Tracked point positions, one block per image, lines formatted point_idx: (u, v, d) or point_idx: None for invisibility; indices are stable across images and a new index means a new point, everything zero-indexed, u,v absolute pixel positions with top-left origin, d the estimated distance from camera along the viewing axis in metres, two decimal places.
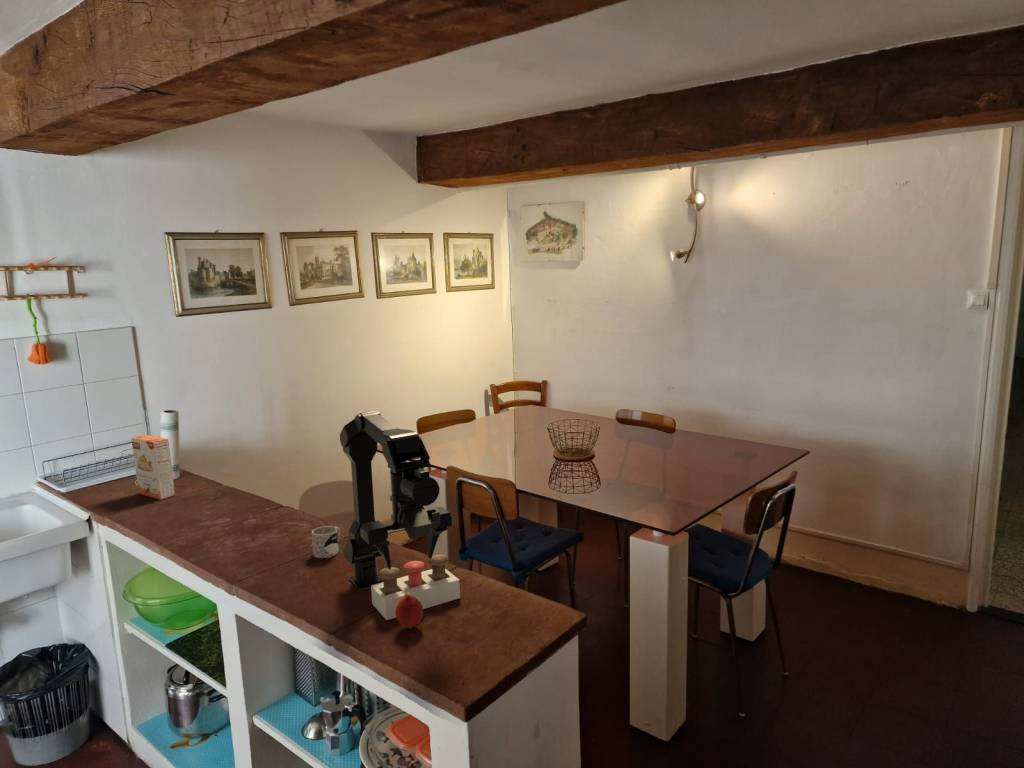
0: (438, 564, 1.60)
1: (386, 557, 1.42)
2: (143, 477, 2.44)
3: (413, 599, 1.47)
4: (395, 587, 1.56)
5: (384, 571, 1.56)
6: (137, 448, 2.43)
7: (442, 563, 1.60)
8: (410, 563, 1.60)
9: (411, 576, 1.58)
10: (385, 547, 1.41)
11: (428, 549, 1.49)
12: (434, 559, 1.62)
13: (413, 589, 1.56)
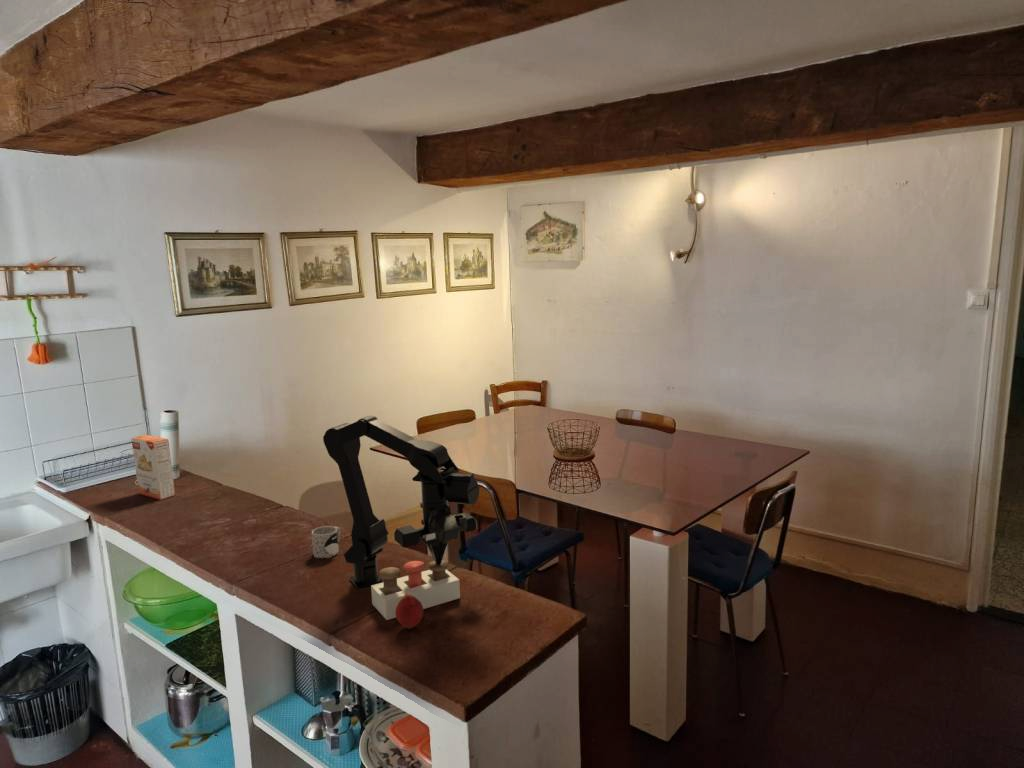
0: (438, 569, 1.60)
1: (435, 554, 1.60)
2: (143, 477, 2.44)
3: (413, 599, 1.47)
4: (395, 587, 1.56)
5: (384, 571, 1.56)
6: (137, 448, 2.43)
7: (442, 568, 1.60)
8: (410, 563, 1.60)
9: (411, 576, 1.58)
10: (435, 545, 1.59)
11: None
12: (435, 564, 1.62)
13: (413, 589, 1.56)
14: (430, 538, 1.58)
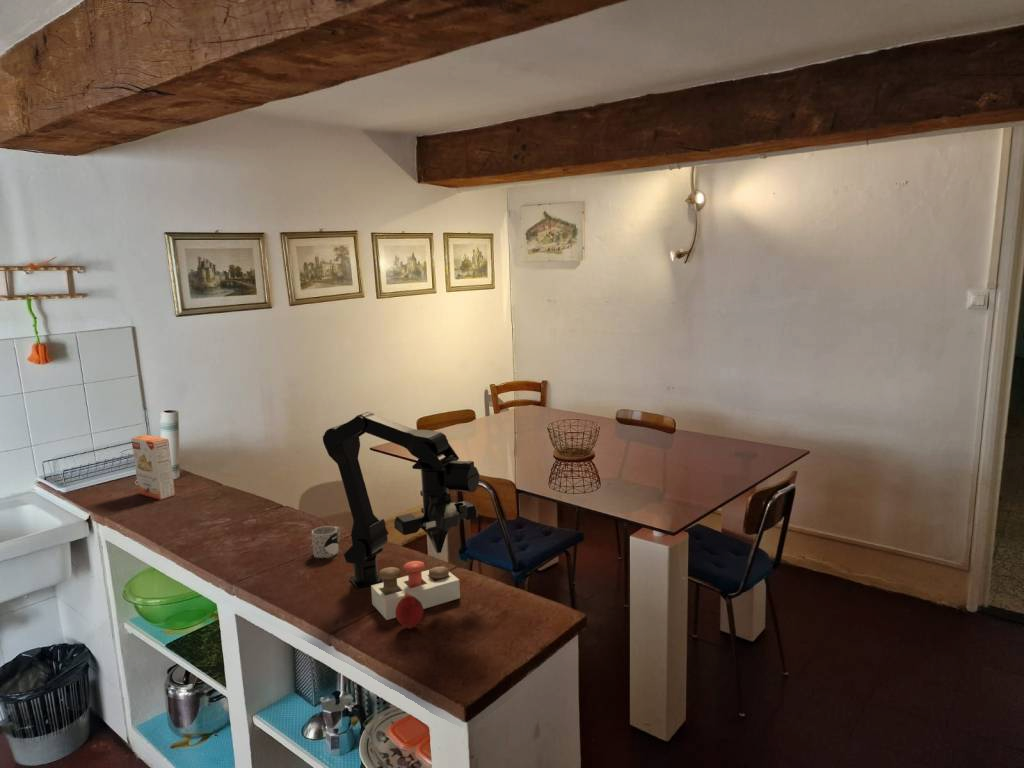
0: (439, 576, 1.60)
1: (436, 542, 1.60)
2: (143, 477, 2.44)
3: (413, 599, 1.47)
4: (395, 587, 1.56)
5: (384, 571, 1.56)
6: (137, 448, 2.43)
7: (443, 575, 1.61)
8: (410, 563, 1.60)
9: (411, 576, 1.58)
10: (435, 533, 1.58)
11: None
12: (435, 571, 1.62)
13: (413, 589, 1.56)
14: (430, 526, 1.57)
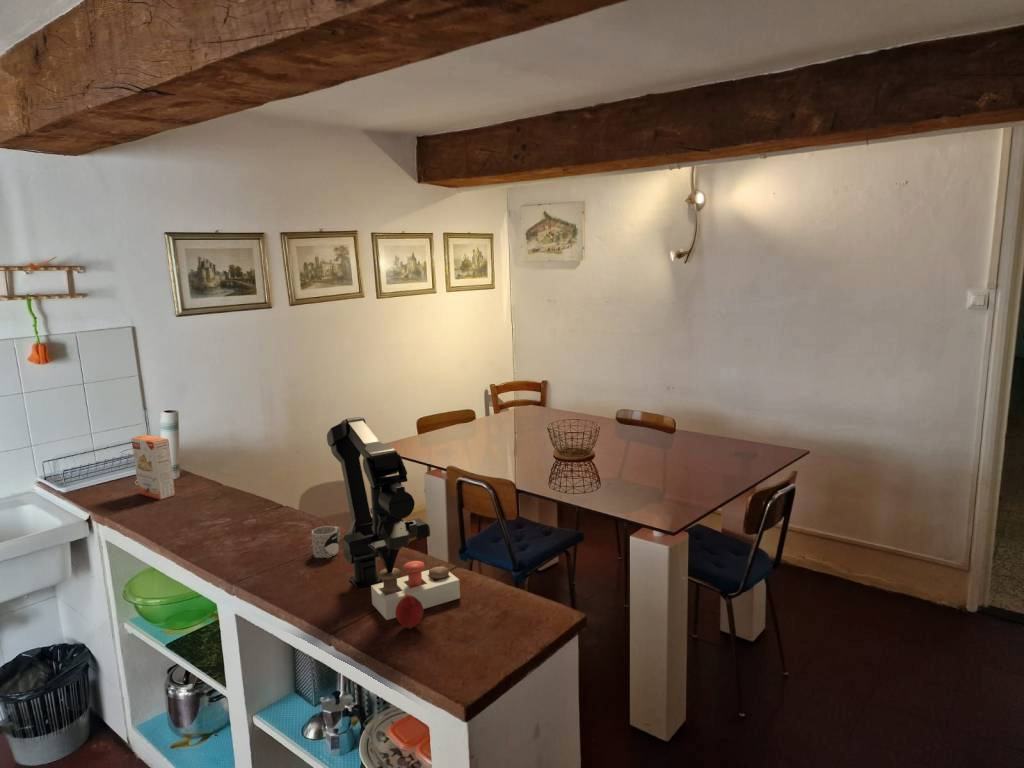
0: (439, 576, 1.60)
1: (386, 561, 1.54)
2: (143, 477, 2.44)
3: (413, 599, 1.47)
4: (395, 588, 1.56)
5: (384, 572, 1.56)
6: (137, 448, 2.43)
7: (443, 575, 1.61)
8: (410, 563, 1.60)
9: (411, 576, 1.58)
10: (385, 552, 1.53)
11: None
12: (435, 571, 1.62)
13: (413, 589, 1.56)
14: (379, 545, 1.52)
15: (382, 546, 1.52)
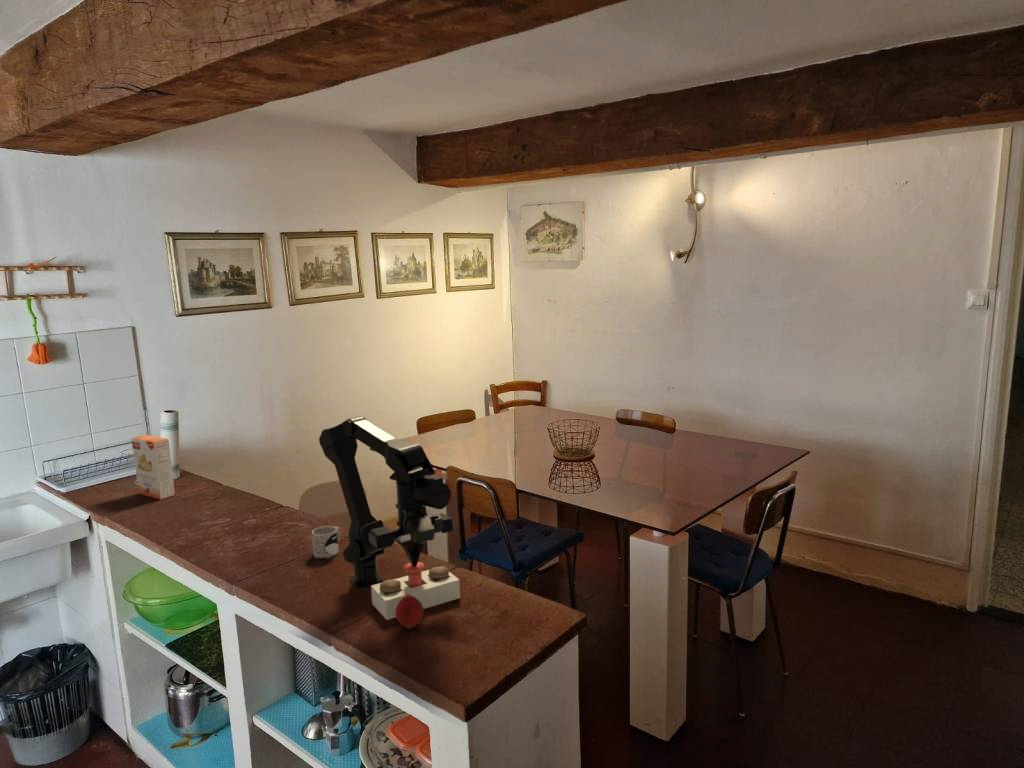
0: (439, 576, 1.60)
1: (411, 555, 1.57)
2: (143, 477, 2.44)
3: (413, 599, 1.47)
4: None
5: (385, 584, 1.56)
6: (137, 448, 2.43)
7: (443, 575, 1.61)
8: (410, 564, 1.60)
9: (411, 577, 1.58)
10: (410, 546, 1.56)
11: None
12: (435, 571, 1.62)
13: (413, 589, 1.56)
14: (405, 539, 1.55)
15: (407, 540, 1.55)
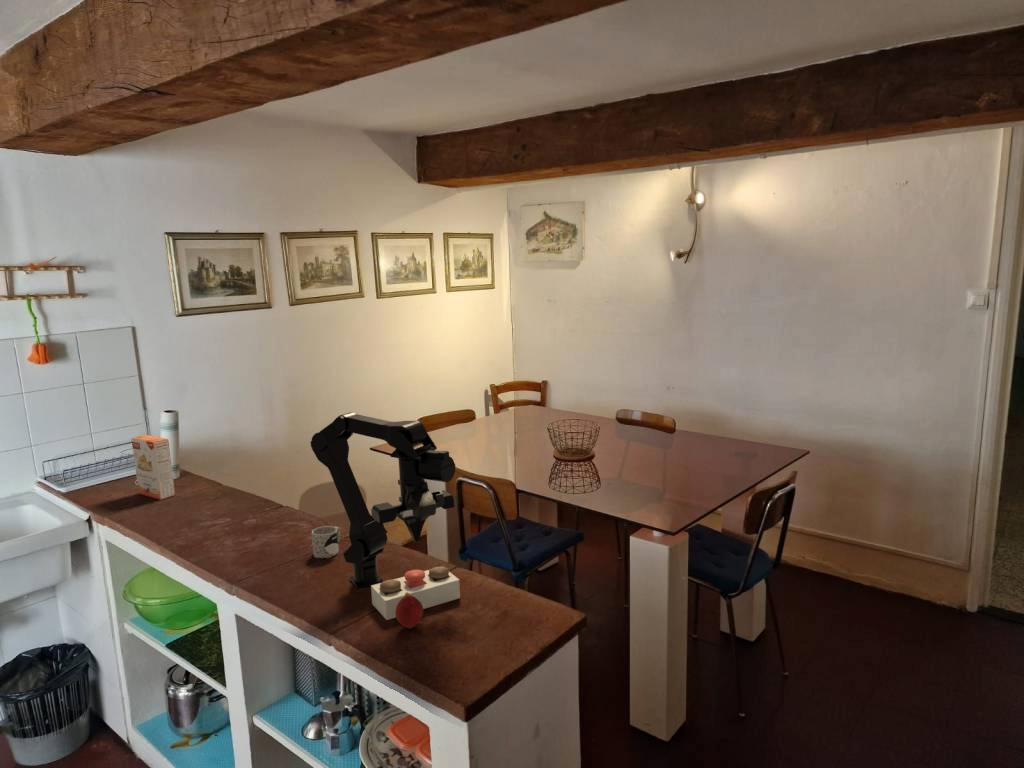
0: (439, 576, 1.60)
1: (413, 531, 1.60)
2: (143, 477, 2.44)
3: (413, 599, 1.47)
4: None
5: (385, 584, 1.56)
6: (137, 448, 2.43)
7: (443, 575, 1.61)
8: (411, 572, 1.60)
9: (412, 585, 1.58)
10: (412, 521, 1.59)
11: None
12: (435, 571, 1.62)
13: (413, 589, 1.56)
14: (407, 515, 1.57)
15: (410, 516, 1.58)
